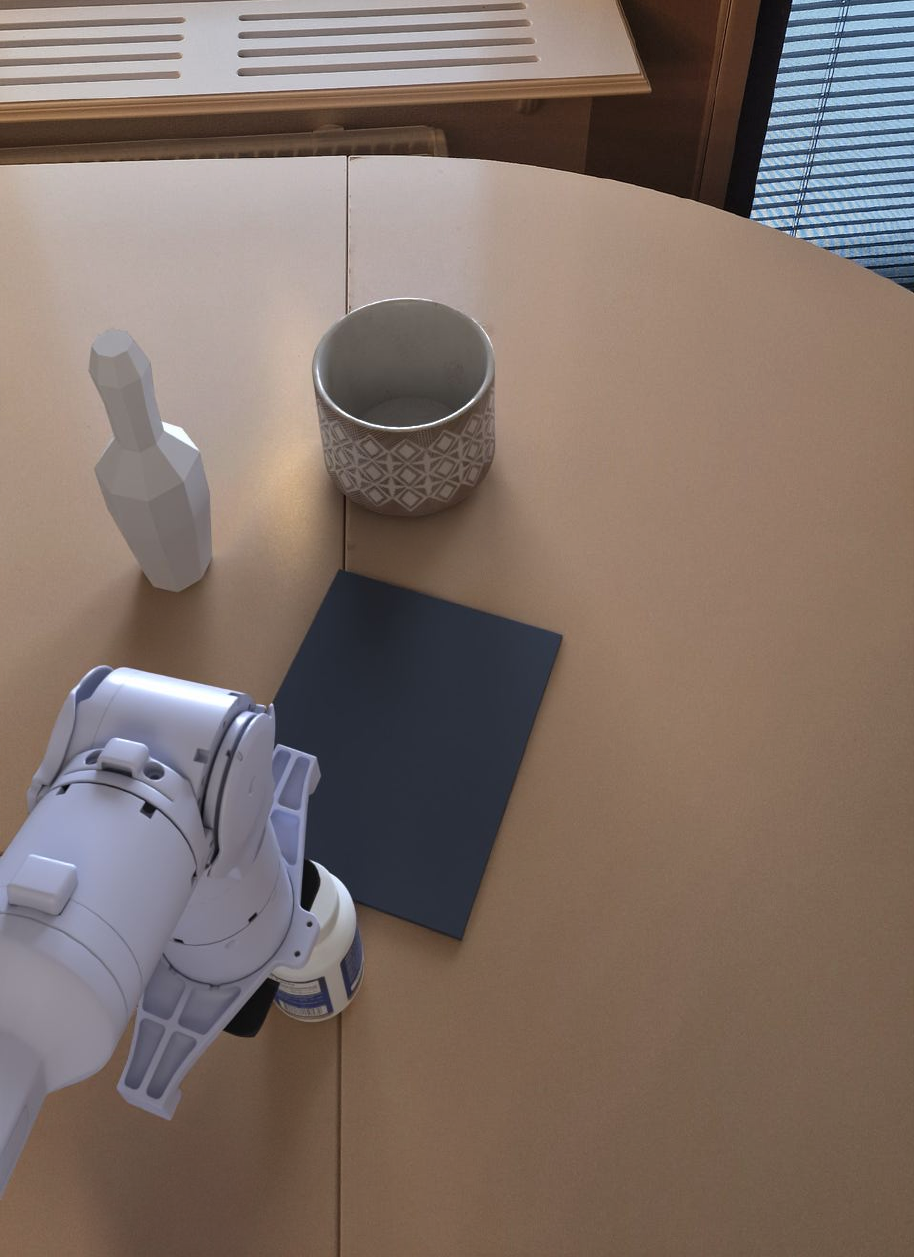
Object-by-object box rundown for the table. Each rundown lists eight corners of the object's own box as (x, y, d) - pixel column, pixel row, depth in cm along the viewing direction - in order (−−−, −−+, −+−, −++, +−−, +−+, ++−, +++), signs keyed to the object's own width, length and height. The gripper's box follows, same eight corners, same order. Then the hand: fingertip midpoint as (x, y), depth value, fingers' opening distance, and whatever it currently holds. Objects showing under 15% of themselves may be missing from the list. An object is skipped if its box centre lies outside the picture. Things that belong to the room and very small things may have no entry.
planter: (497, 524, 92) (497, 429, 84) (319, 527, 92) (304, 432, 85) (492, 391, 101) (492, 295, 94) (331, 394, 101) (318, 299, 94)
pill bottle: (327, 898, 73) (310, 822, 66) (385, 977, 70) (373, 905, 63) (247, 964, 71) (220, 892, 64) (302, 1048, 67) (281, 982, 61)
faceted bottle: (241, 552, 90) (190, 331, 75) (179, 618, 87) (112, 399, 72) (175, 511, 93) (113, 290, 78) (111, 573, 89) (33, 354, 74)
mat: (461, 942, 71) (461, 939, 71) (202, 846, 75) (202, 843, 75) (562, 638, 85) (562, 634, 85) (339, 571, 89) (338, 568, 89)
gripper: (213, 1110, 45) (265, 1191, 54) (371, 732, 54) (392, 858, 64) (39, 1035, 47) (119, 1127, 56) (221, 682, 56) (263, 812, 66)
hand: (255, 980), depth 60 cm, fingers closed
